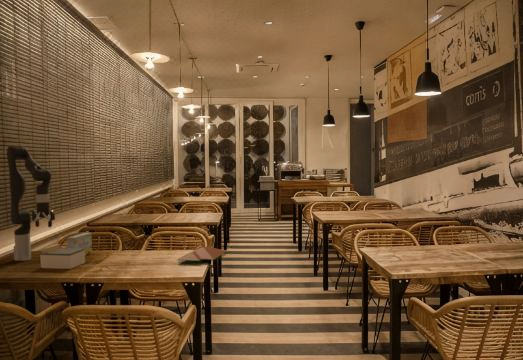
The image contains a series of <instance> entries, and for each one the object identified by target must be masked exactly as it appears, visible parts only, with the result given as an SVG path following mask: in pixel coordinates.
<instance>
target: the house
mask: <svg viewBox="0 0 523 360" xmlns="http://www.w3.org/2000/svg"><path fill="white" fill-rule="evenodd" d="M226 252H228V250H225V249H222V248H221V249H219V248H215V247H211V246H210V247H209V246H202V247H199V248H196V249H194V250H191V251H190V252H188V253H186V254H185V255H183V256H181V257H178V258H177V259H176V261H178V263H179V264H181V262H182V265H185V261H186V264H187V263H188V264H190V263H192V265H193V264H194V265H195V264H202V263H203V262H205V260H209V261H216V262H217V261H219V260H220V259H222V258H223V257H225V256H226V254H227V253H226ZM184 260H185V261H184ZM189 262H190V263H189ZM201 262H202V263H201ZM178 263H177V264H178Z"/></svg>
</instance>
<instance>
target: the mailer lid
mask: <svg viewBox="0 0 523 360" xmlns="http://www.w3.org/2000/svg"><path fill="white" fill-rule="evenodd" d="M83 250H85V249H84V248H67V247H61V244H60V243H56V244H53V245H49V246H46V247H45V248H44V251H43V252H40V254H39V255H72V254H75V253H77V252H80V251H83Z"/></svg>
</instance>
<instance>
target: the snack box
mask: <svg viewBox="0 0 523 360" xmlns="http://www.w3.org/2000/svg"><path fill="white" fill-rule="evenodd" d="M92 235H93V233H92V232H82V233H80V234H79V233H78V234H76V235H71V236H69V237H67V238H66V246H67V247H66V248H84V249H85V257H86V256H90V255H92V254H93V242H92V241H93V238H92V237H93V236H92Z"/></svg>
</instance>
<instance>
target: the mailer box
mask: <svg viewBox="0 0 523 360" xmlns="http://www.w3.org/2000/svg"><path fill="white" fill-rule="evenodd" d="M39 255H40V254H39ZM39 259H40V268H41V269H59V270H60V269H61V270H62V269H67V270H72V269H73V268H76V267H78V266H81V265H82V264H83V265H84V264H85V263H86V256H85V250H83V251H80V252H77V253H75V254H72V255H40V258H39Z"/></svg>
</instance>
